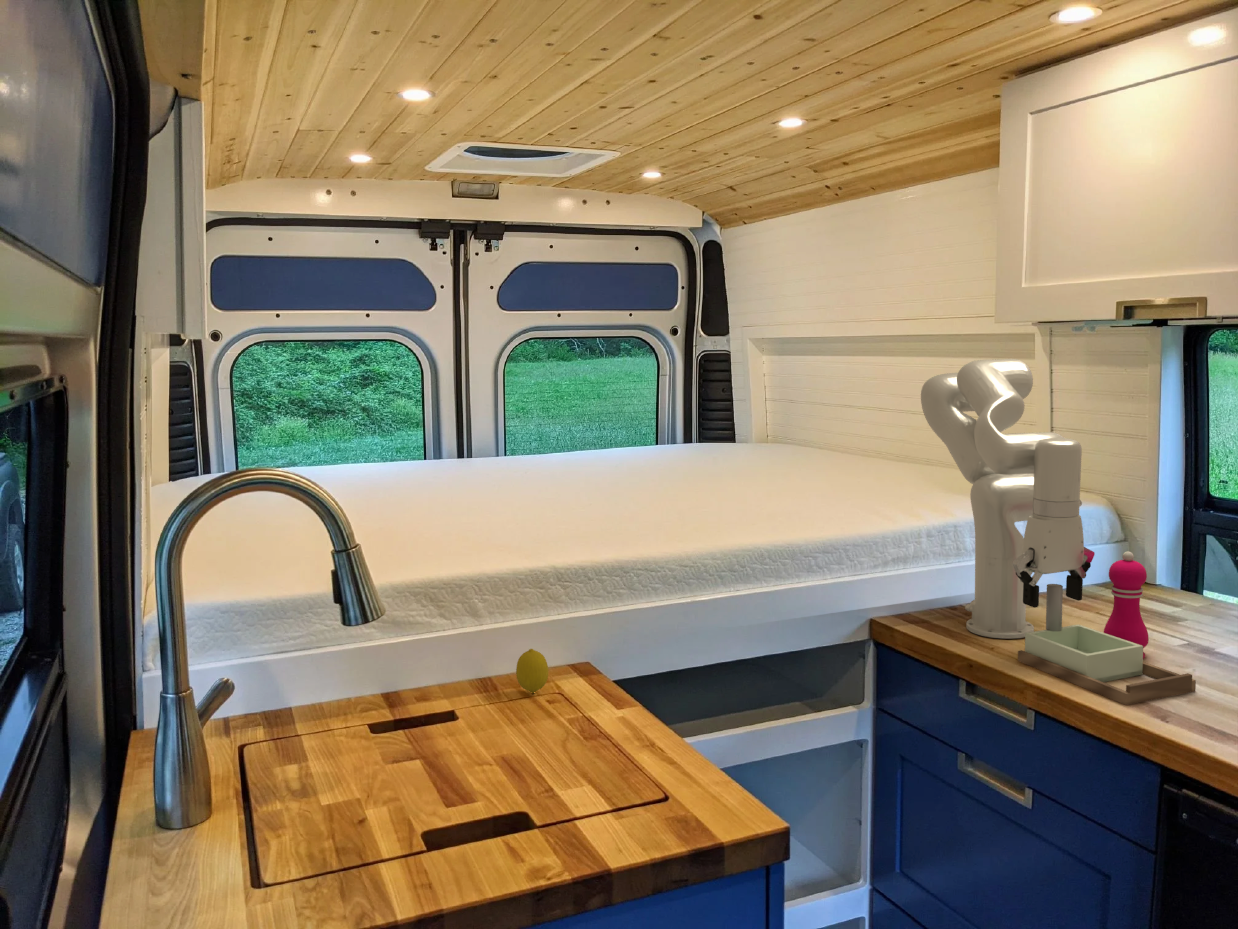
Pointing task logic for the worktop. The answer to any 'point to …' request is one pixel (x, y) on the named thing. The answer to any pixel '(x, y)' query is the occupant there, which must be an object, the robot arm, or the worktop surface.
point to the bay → (1134, 693)
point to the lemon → (532, 670)
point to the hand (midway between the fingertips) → (1052, 602)
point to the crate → (1083, 645)
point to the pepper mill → (1127, 601)
